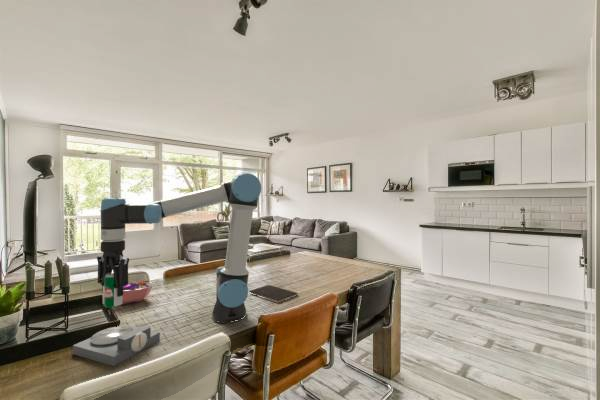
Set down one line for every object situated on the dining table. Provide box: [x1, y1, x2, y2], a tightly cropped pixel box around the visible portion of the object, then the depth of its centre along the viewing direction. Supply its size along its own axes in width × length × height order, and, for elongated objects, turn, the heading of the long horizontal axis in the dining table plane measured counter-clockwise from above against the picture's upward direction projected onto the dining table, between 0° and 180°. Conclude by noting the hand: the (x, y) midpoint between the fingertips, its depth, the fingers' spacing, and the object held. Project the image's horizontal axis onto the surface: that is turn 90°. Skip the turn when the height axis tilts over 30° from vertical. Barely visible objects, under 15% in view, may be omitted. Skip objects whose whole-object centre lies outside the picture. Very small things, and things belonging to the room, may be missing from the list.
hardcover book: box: [248, 284, 299, 303], centre depth 159 cm, size 16×23×2 cm
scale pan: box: [90, 325, 133, 346], centre depth 103 cm, size 13×13×1 cm
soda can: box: [103, 271, 120, 309], centre depth 103 cm, size 5×5×12 cm
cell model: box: [121, 281, 153, 305], centre depth 146 cm, size 17×20×11 cm
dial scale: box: [72, 323, 161, 367], centre depth 102 cm, size 21×18×7 cm
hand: (112, 303), depth 103 cm, fingers closed on soda can, 5 cm apart
